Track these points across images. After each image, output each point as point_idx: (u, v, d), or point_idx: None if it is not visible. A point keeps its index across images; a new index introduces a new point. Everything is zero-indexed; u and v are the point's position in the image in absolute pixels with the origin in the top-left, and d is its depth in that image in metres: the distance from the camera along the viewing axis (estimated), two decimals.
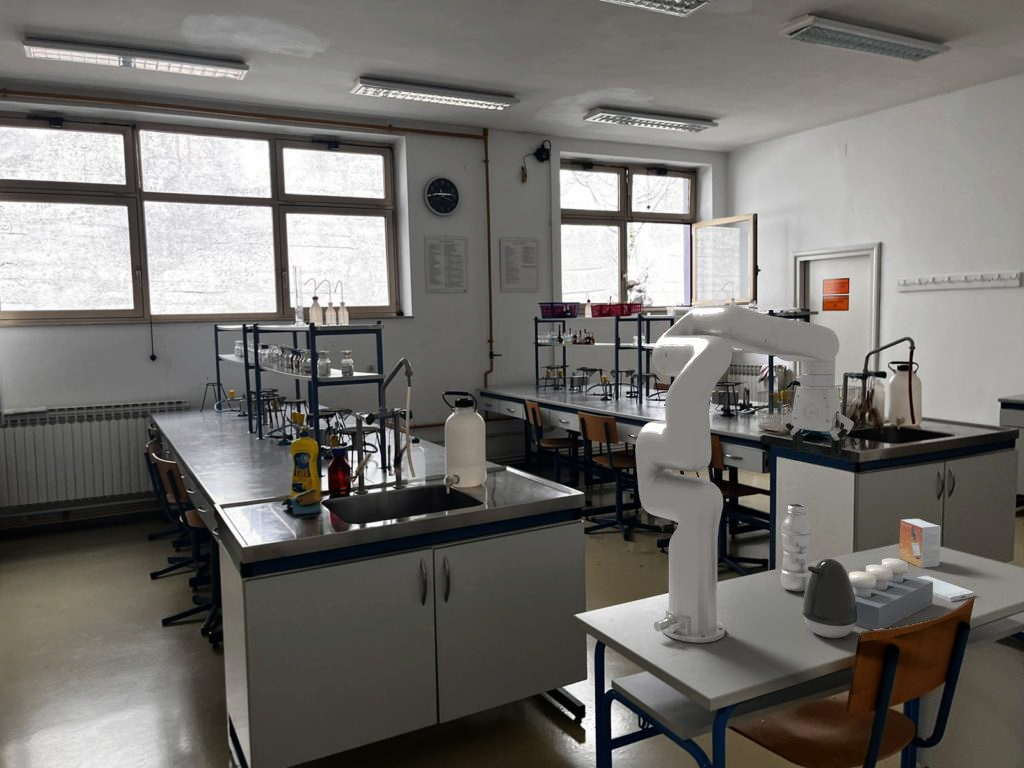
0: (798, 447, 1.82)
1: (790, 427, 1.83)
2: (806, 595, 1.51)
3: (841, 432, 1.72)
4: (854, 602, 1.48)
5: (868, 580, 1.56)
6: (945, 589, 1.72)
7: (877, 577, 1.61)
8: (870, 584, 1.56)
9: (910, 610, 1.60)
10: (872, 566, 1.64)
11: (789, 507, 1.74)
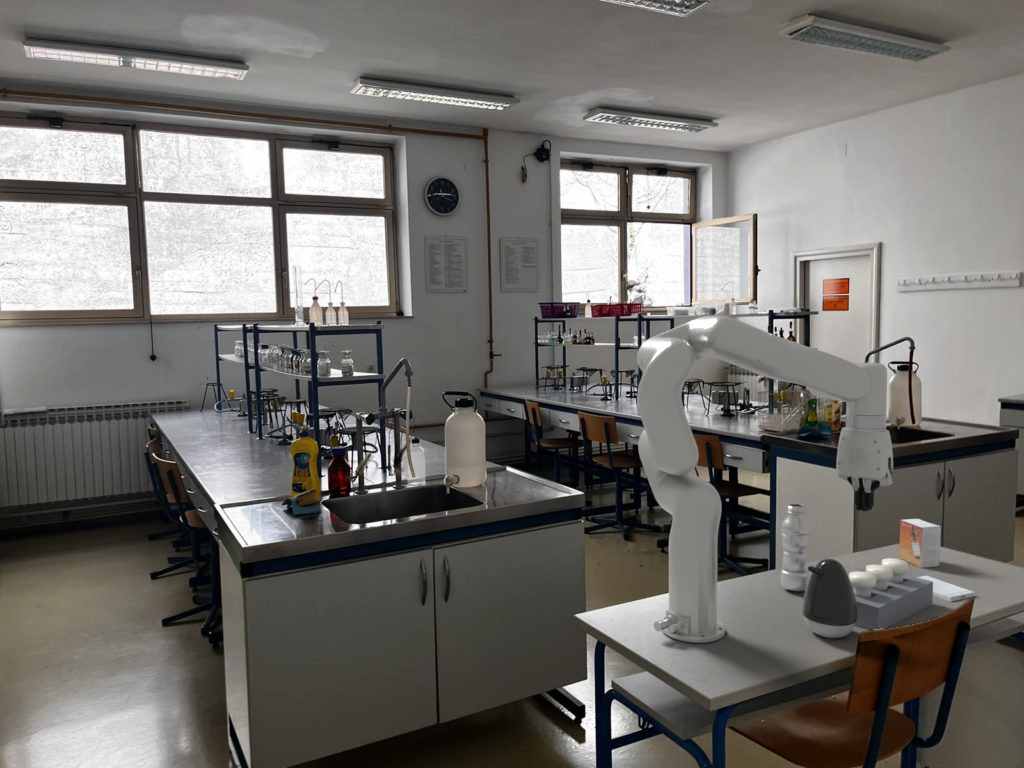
0: None
1: None
2: (806, 595, 1.51)
3: (873, 484, 1.55)
4: (854, 602, 1.48)
5: (868, 580, 1.56)
6: (945, 589, 1.73)
7: (877, 577, 1.61)
8: (870, 584, 1.56)
9: (910, 610, 1.60)
10: (872, 566, 1.64)
11: (789, 507, 1.74)
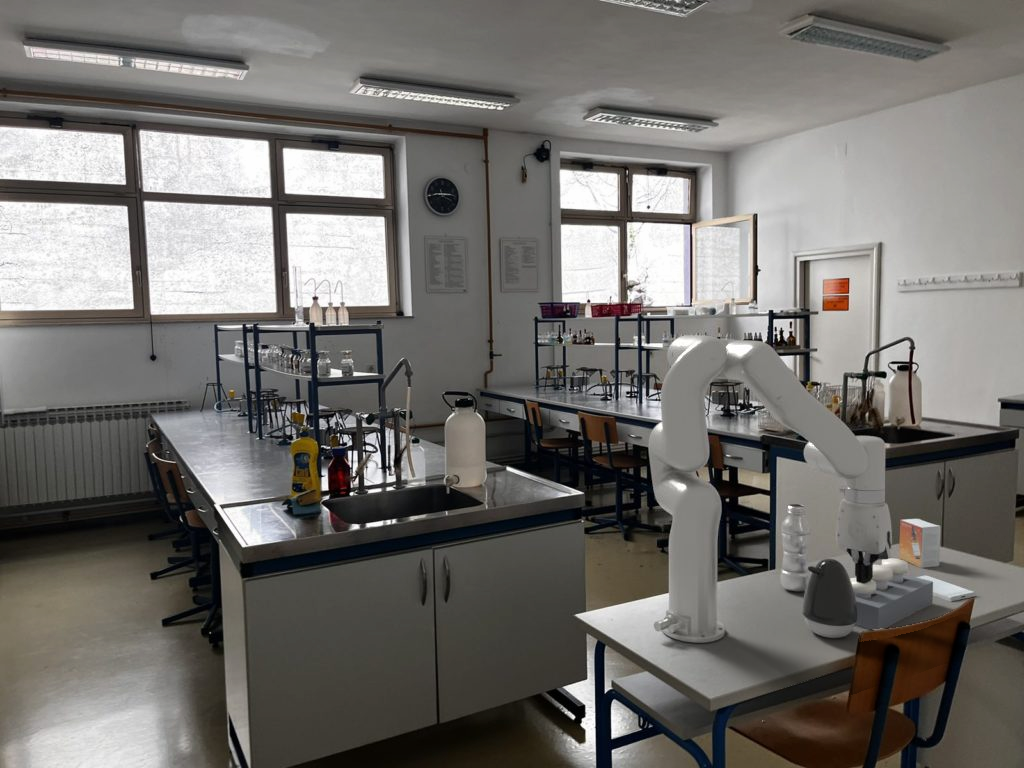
0: None
1: None
2: (806, 595, 1.51)
3: (872, 557, 1.56)
4: (854, 602, 1.48)
5: (868, 586, 1.56)
6: (945, 589, 1.73)
7: (877, 577, 1.61)
8: (870, 590, 1.57)
9: (910, 610, 1.60)
10: None
11: (789, 507, 1.74)
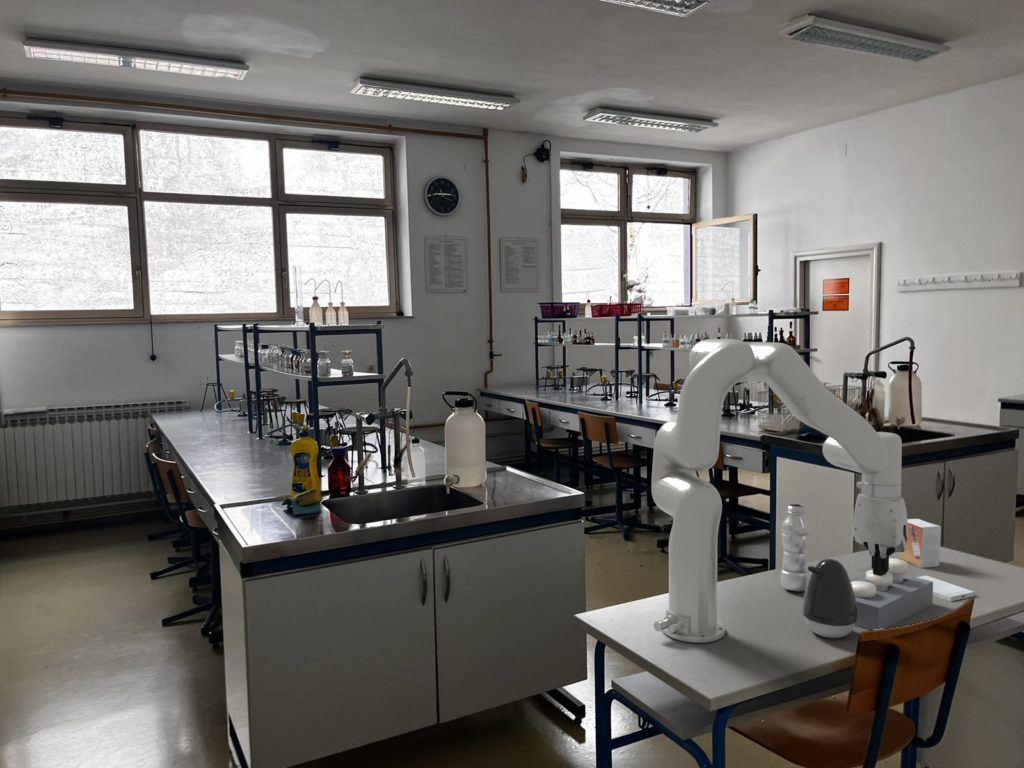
0: None
1: None
2: (806, 595, 1.51)
3: (888, 550, 1.61)
4: (854, 602, 1.48)
5: (868, 589, 1.56)
6: (944, 588, 1.73)
7: (877, 583, 1.61)
8: (870, 594, 1.57)
9: (910, 610, 1.60)
10: (872, 572, 1.64)
11: (789, 507, 1.74)
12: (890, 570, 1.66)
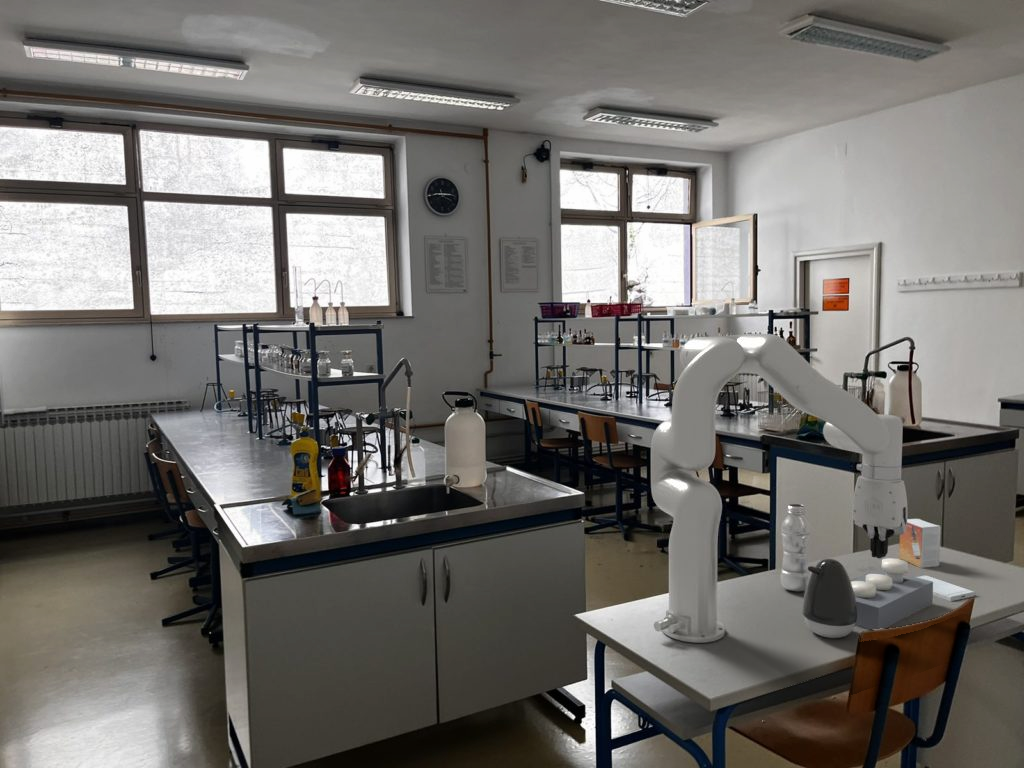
0: None
1: None
2: (806, 595, 1.51)
3: (887, 532, 1.60)
4: (854, 602, 1.48)
5: (868, 589, 1.56)
6: (944, 588, 1.73)
7: (877, 587, 1.61)
8: (870, 594, 1.57)
9: (910, 610, 1.60)
10: (871, 575, 1.65)
11: (789, 507, 1.74)
12: (890, 570, 1.66)
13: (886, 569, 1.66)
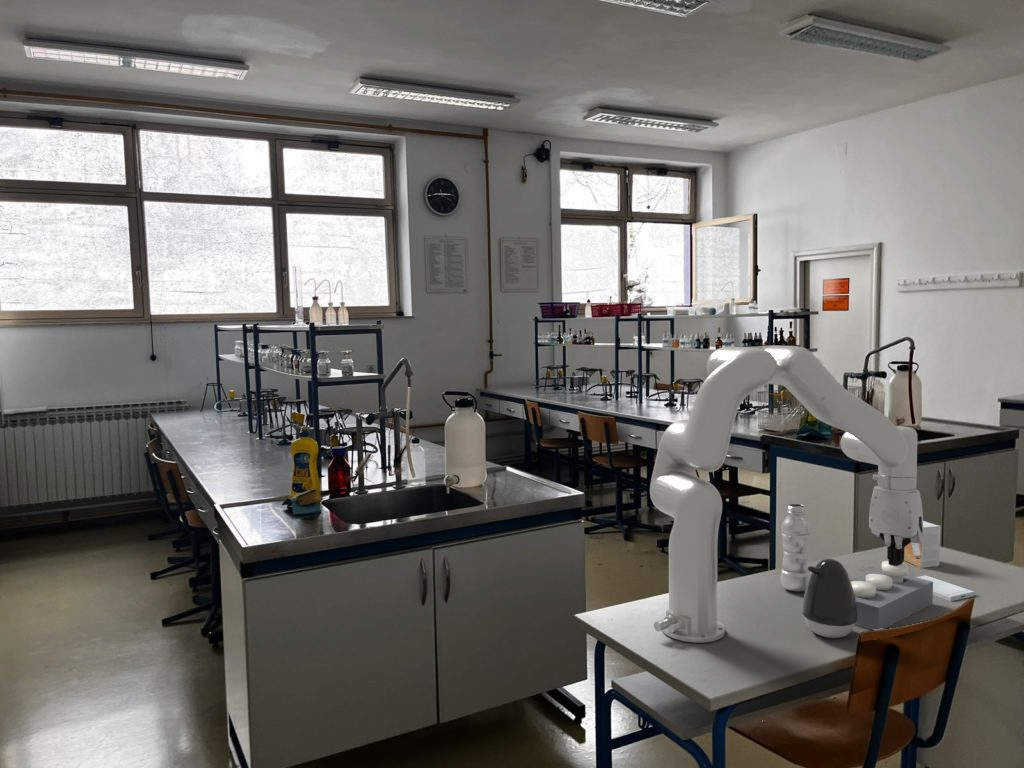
0: None
1: None
2: (806, 595, 1.51)
3: (904, 541, 1.65)
4: (854, 602, 1.48)
5: (868, 589, 1.56)
6: (944, 588, 1.73)
7: (877, 587, 1.61)
8: (870, 594, 1.57)
9: (910, 610, 1.60)
10: (871, 575, 1.65)
11: (789, 507, 1.74)
12: (890, 573, 1.66)
13: (886, 571, 1.66)
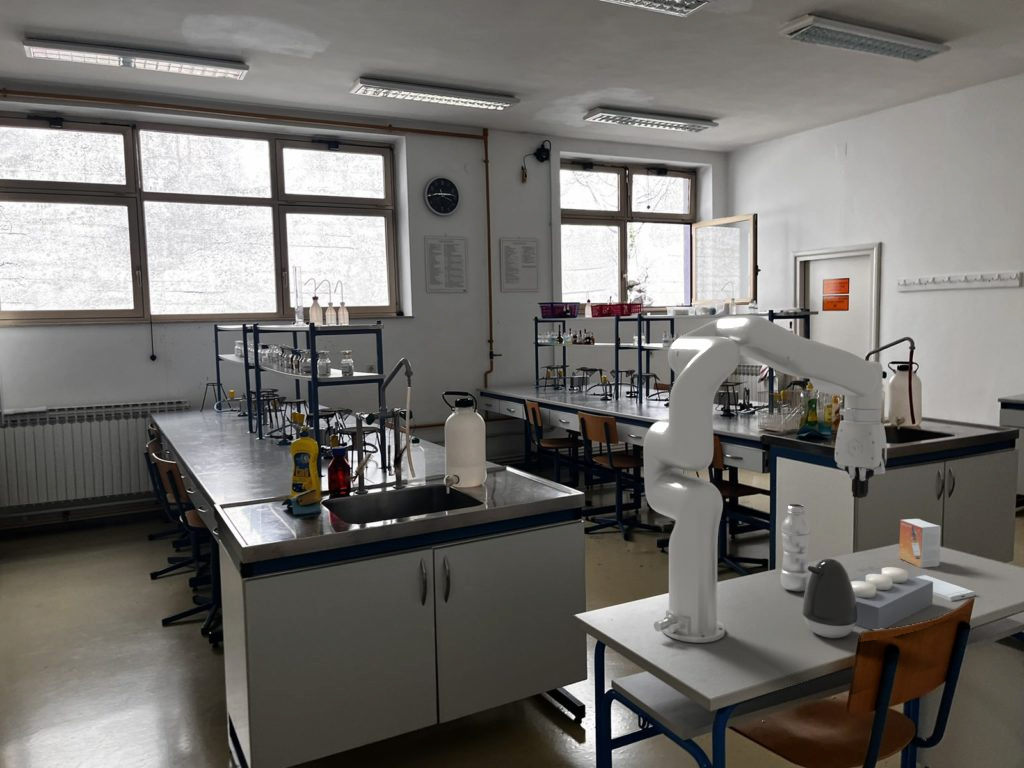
0: None
1: None
2: (806, 595, 1.51)
3: (867, 472, 1.68)
4: (854, 602, 1.48)
5: (868, 589, 1.56)
6: (944, 588, 1.73)
7: (877, 587, 1.61)
8: (870, 594, 1.57)
9: (910, 610, 1.60)
10: (871, 575, 1.65)
11: (789, 507, 1.74)
12: None
13: None
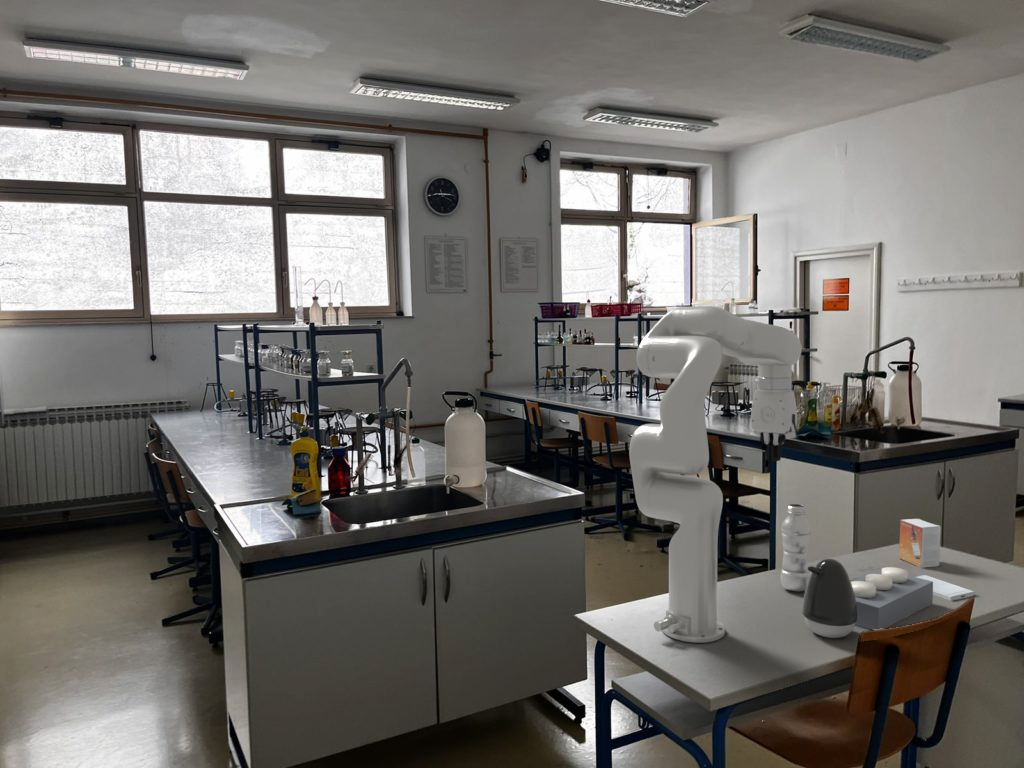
0: None
1: None
2: (806, 595, 1.51)
3: (780, 437, 1.79)
4: (854, 602, 1.48)
5: (868, 589, 1.56)
6: (944, 588, 1.73)
7: (877, 587, 1.61)
8: (870, 594, 1.57)
9: (910, 610, 1.60)
10: (871, 575, 1.65)
11: (789, 507, 1.74)
12: None
13: None
